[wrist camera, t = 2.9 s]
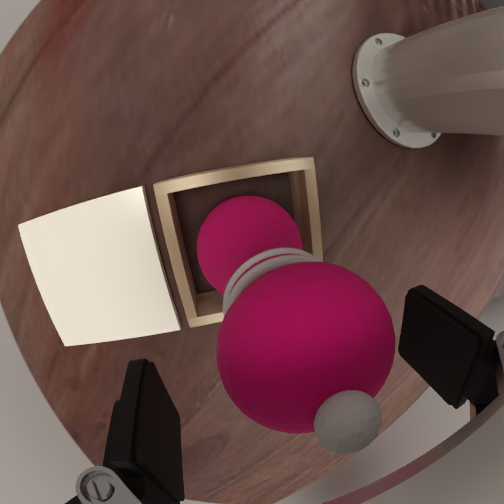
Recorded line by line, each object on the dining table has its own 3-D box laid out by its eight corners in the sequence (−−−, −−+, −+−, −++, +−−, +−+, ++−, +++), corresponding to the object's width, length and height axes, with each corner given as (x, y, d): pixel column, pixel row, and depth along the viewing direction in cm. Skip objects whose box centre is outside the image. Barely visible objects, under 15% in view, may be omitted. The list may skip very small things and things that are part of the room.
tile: (144, 185, 21) (141, 186, 20) (180, 324, 25) (180, 329, 24) (23, 222, 19) (17, 224, 19) (68, 340, 24) (65, 346, 23)
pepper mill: (239, 288, 25) (319, 509, 7) (178, 234, 23) (137, 475, 4) (298, 231, 25) (482, 386, 6) (241, 171, 22) (438, 234, 3)
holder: (295, 157, 22) (313, 157, 19) (307, 277, 26) (324, 296, 23) (161, 180, 21) (153, 184, 17) (190, 303, 25) (189, 327, 21)
